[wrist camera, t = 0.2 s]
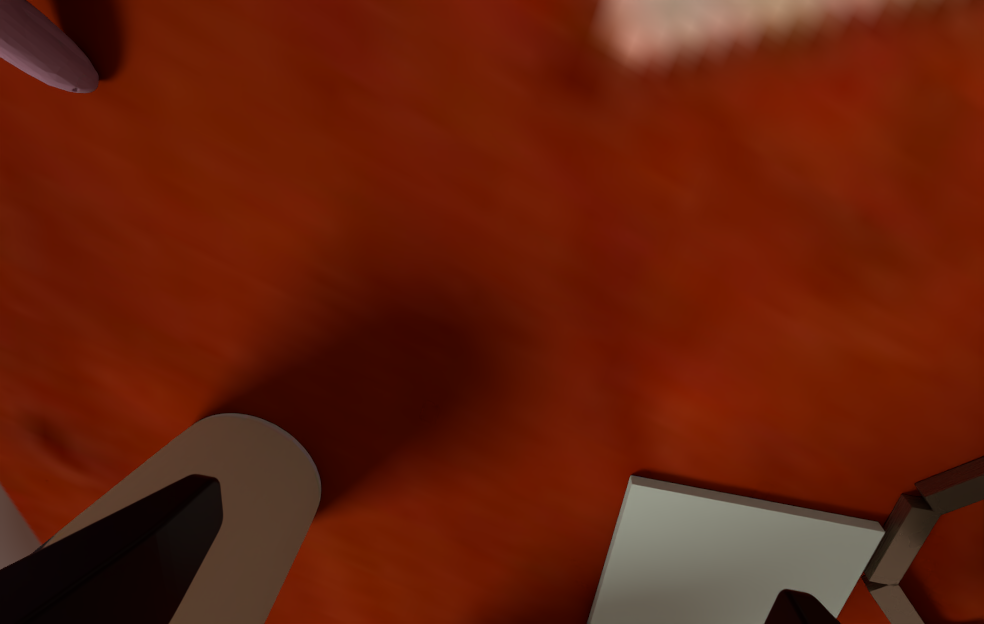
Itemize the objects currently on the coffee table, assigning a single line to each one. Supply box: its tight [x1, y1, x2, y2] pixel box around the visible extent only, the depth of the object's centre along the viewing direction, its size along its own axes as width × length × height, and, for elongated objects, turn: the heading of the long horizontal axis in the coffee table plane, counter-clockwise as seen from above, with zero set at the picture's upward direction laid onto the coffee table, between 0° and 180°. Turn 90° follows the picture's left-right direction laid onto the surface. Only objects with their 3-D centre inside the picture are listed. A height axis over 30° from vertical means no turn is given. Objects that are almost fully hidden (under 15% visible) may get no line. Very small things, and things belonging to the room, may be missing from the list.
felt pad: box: [587, 475, 885, 624], centre depth 27 cm, size 11×11×1 cm
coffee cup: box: [33, 413, 321, 624], centre depth 23 cm, size 9×9×12 cm
